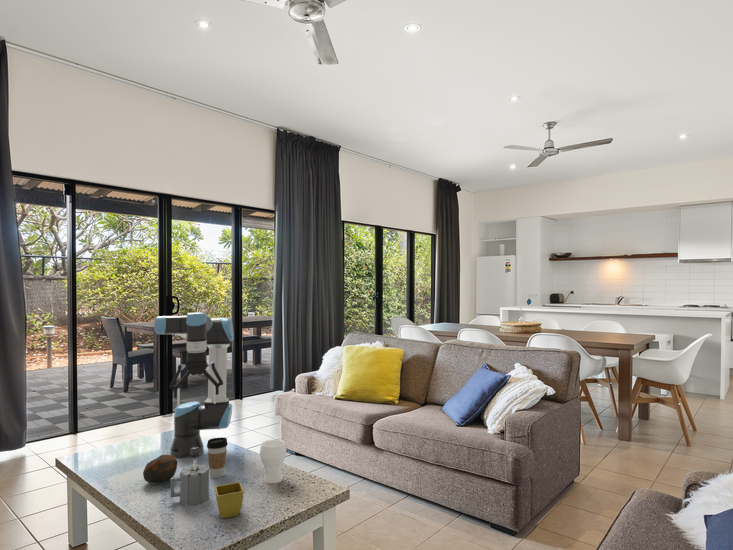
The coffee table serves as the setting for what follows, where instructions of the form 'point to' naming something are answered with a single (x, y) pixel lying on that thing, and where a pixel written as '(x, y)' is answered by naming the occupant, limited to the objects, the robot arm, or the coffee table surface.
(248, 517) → the coffee table surface
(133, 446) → the coffee table surface
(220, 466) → the coffee cup
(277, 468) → the cup
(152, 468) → the rock
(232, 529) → the coffee table surface
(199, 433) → the robot arm
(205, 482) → the press carafe
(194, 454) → the plunger
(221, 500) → the flower pot
